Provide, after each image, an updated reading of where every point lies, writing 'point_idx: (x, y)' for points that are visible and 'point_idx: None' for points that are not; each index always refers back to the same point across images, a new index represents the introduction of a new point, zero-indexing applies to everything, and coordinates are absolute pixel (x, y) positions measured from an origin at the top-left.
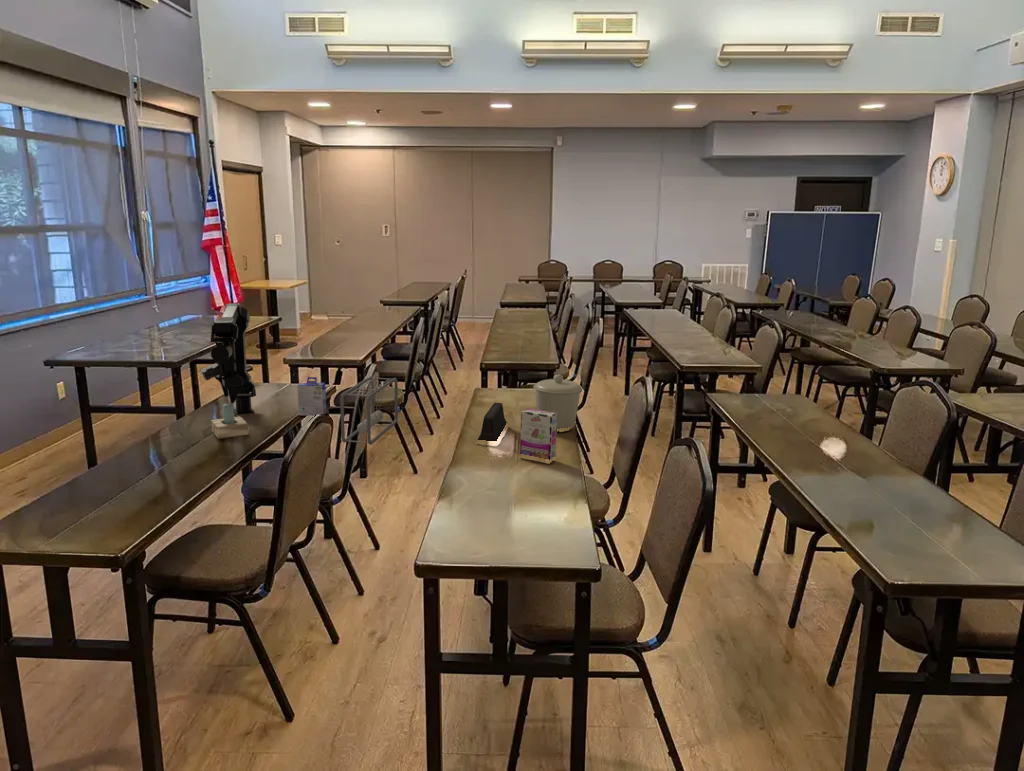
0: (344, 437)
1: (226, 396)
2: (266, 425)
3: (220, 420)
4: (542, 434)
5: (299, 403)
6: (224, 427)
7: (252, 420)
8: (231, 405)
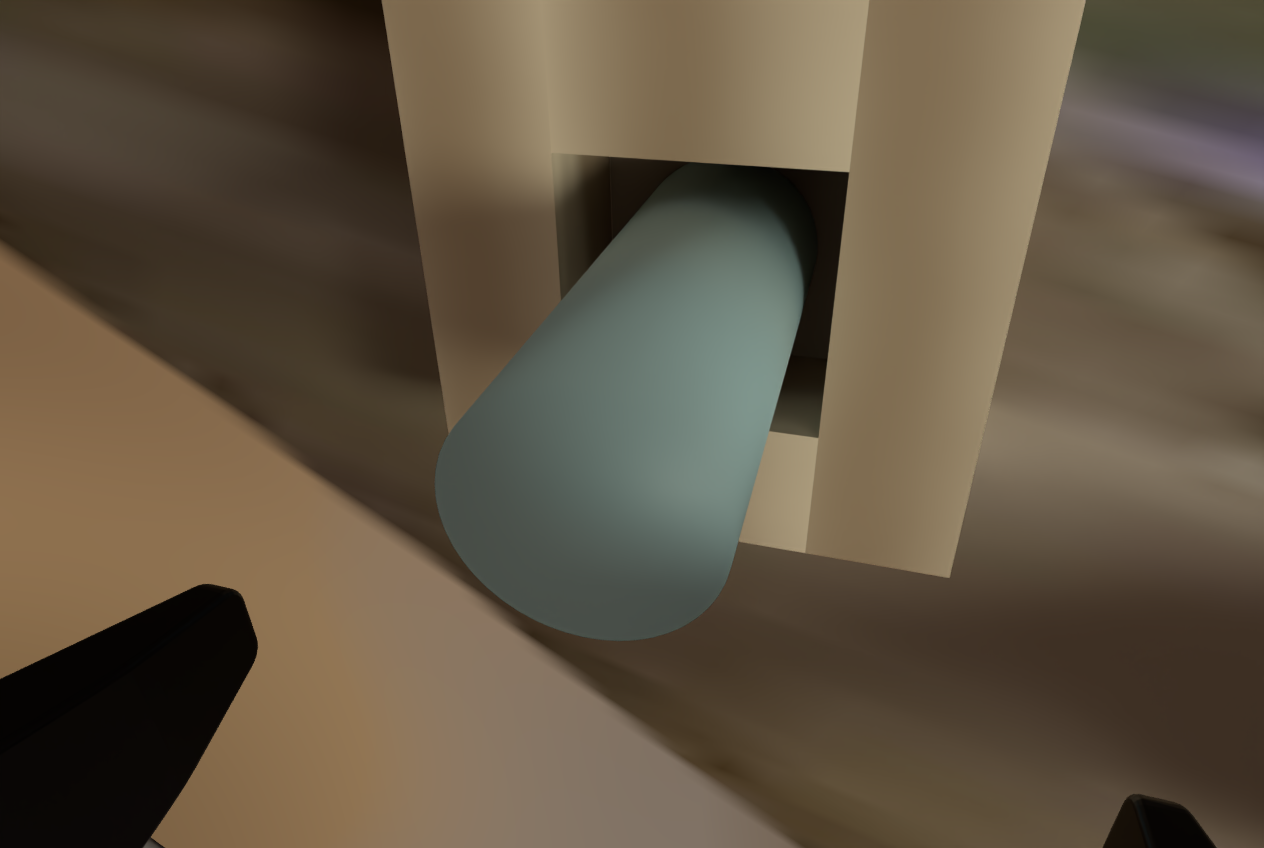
0: None
1: (1119, 831)
2: (805, 692)
3: (896, 181)
4: None
5: None
6: (411, 114)
7: (1184, 693)
8: (479, 566)
